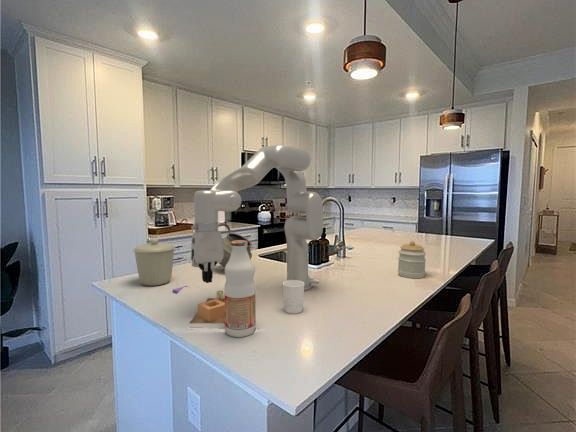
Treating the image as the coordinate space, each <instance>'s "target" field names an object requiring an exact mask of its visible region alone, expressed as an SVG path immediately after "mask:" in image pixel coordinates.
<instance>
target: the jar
mask: <svg viewBox="0 0 576 432" xmlns="http://www.w3.org/2000/svg"><path fill="white" fill-rule="evenodd" d="M424 250H425V247H423V246H422V245H420V244H416V242H415V241H414V240H410V241H409V243H407V244H406V243H405V244H402V245H401V246H400V249H399V250H398V254H399V256H398V258H397V259H398V261H397V262H398V264H397V265H398V267H397V275H399V276H400V277H402V278H407V279H423V278H425V275H426V257H425V256H426V255H427V253H426V252H425V251H424Z"/></svg>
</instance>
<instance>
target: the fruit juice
mask: <svg viewBox="0 0 576 432" xmlns="http://www.w3.org/2000/svg"><path fill="white" fill-rule="evenodd" d="M247 245H248V243H247V241H245V240H235V241H232V242H231V247H232V252H231V256H230V259H229V261H228V263H227V264H226V266H225V267H224V276H225V284H224V290H223V298H225V323H224V332H225V333H226V335H227V336H230V337H233V338H243V337H248V336H251V335H252V334H253V333H254V332H255V331H256V327H257V324H256V323H257V319H256V318H257V317H256V315H257V313H256V284H255V281H254V277H255V272H256V270H255V265H254V263H253V262H252V259H251V260H250V257H249V255H248V252H247Z"/></svg>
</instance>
